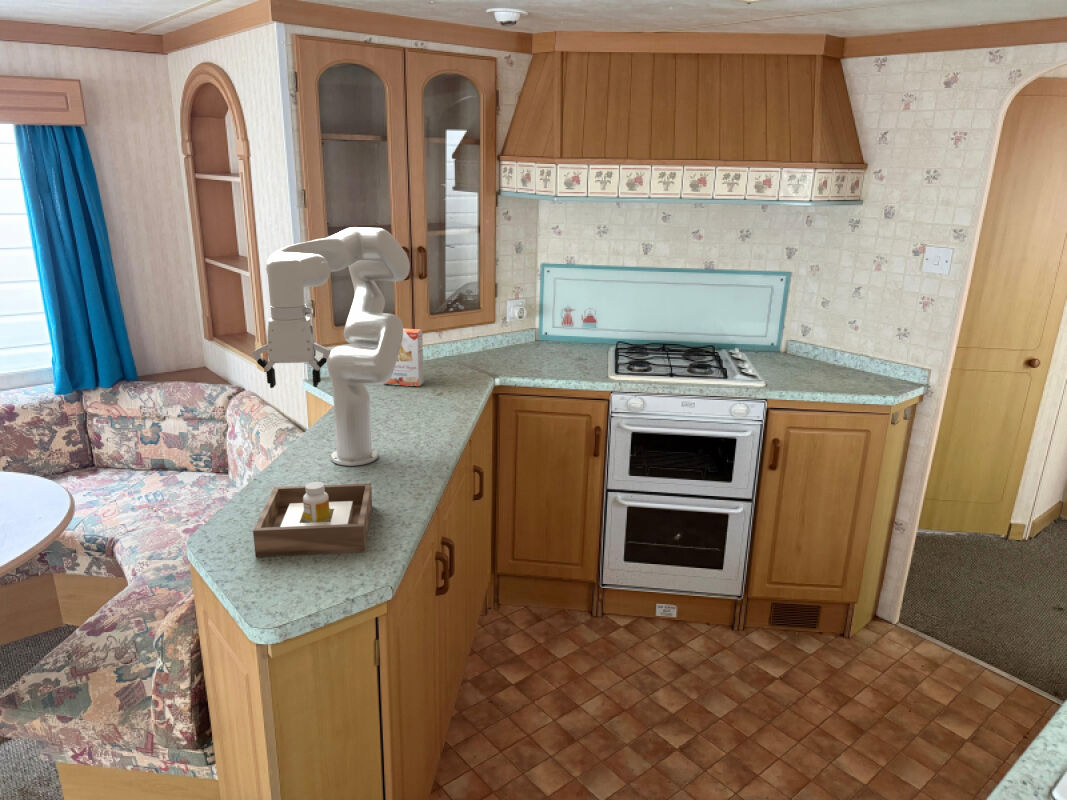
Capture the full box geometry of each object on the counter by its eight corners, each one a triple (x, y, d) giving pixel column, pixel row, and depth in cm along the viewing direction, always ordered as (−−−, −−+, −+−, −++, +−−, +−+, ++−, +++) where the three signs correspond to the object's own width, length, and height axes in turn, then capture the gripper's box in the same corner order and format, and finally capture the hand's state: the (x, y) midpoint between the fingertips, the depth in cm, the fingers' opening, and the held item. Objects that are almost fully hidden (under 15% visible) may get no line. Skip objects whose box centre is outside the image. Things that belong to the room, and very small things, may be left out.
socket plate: (290, 513, 170) (289, 503, 170) (353, 510, 172) (352, 501, 172) (279, 542, 157) (278, 531, 156) (346, 539, 159) (346, 528, 158)
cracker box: (382, 385, 275) (380, 329, 269) (388, 381, 281) (386, 326, 274) (419, 388, 273) (417, 331, 267) (424, 383, 279) (422, 328, 272)
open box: (276, 510, 174) (274, 486, 172) (372, 506, 177) (371, 483, 175) (255, 557, 153) (252, 530, 151) (364, 551, 156) (363, 526, 154)
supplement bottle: (332, 520, 168) (330, 480, 165) (327, 531, 162) (324, 490, 160) (308, 520, 167) (305, 480, 164) (302, 531, 162) (299, 490, 159)
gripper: (330, 309, 172) (334, 380, 178) (252, 310, 170) (259, 382, 175) (326, 316, 165) (330, 389, 170) (244, 316, 163) (252, 391, 168)
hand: (294, 385), depth 173 cm, fingers open, 9 cm apart
